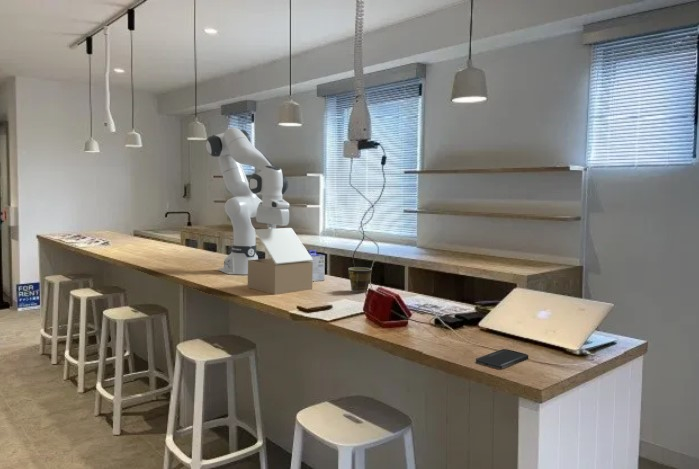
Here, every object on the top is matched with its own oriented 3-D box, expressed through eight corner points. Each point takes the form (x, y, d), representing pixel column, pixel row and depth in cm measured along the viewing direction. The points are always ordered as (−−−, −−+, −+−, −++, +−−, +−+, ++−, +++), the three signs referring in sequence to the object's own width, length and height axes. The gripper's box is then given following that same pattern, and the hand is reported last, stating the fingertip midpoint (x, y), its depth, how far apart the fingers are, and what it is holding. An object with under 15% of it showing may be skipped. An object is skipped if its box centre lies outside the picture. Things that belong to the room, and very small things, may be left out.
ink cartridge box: (319, 278, 265) (319, 249, 264) (325, 280, 260) (325, 250, 259) (301, 280, 259) (301, 250, 258) (307, 282, 255) (308, 251, 253)
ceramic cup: (356, 288, 241) (356, 266, 240) (375, 291, 235) (376, 268, 234) (339, 292, 230) (339, 269, 229) (358, 296, 224) (359, 272, 223)
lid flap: (254, 230, 232) (255, 229, 232) (290, 229, 246) (291, 227, 245) (275, 264, 222) (276, 263, 222) (312, 260, 236) (313, 259, 235)
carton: (247, 287, 238) (247, 260, 237) (284, 282, 251) (284, 257, 250) (274, 294, 223) (275, 265, 222) (312, 289, 237) (312, 261, 236)
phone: (530, 355, 146) (500, 366, 136) (529, 359, 146) (500, 370, 136) (503, 348, 152) (473, 359, 141) (503, 352, 152) (473, 363, 141)
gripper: (252, 201, 244) (252, 232, 245) (280, 204, 229) (279, 236, 231) (264, 201, 248) (264, 231, 250) (292, 204, 233) (291, 236, 235)
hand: (271, 234), depth 240 cm, fingers closed
